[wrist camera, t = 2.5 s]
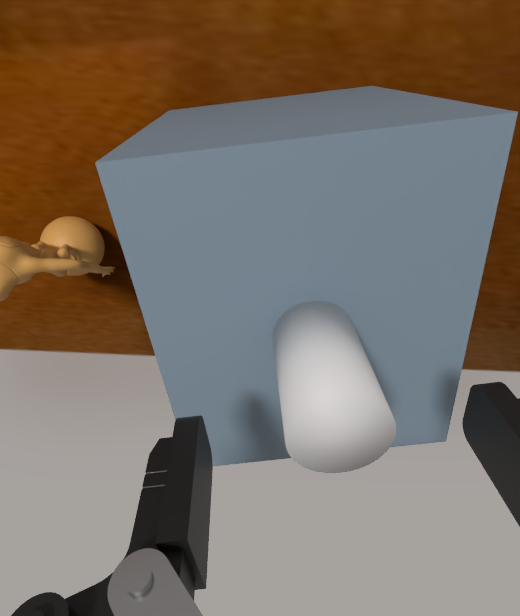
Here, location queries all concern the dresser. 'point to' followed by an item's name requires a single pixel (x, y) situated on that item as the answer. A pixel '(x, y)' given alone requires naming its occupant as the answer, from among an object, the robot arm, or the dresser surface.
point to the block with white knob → (311, 265)
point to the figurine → (52, 253)
